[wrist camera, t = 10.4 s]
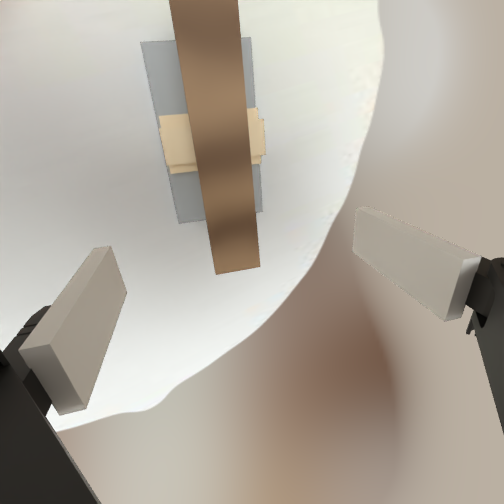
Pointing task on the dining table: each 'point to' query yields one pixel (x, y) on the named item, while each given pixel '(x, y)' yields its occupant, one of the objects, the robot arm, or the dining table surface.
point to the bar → (219, 126)
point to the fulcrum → (179, 131)
